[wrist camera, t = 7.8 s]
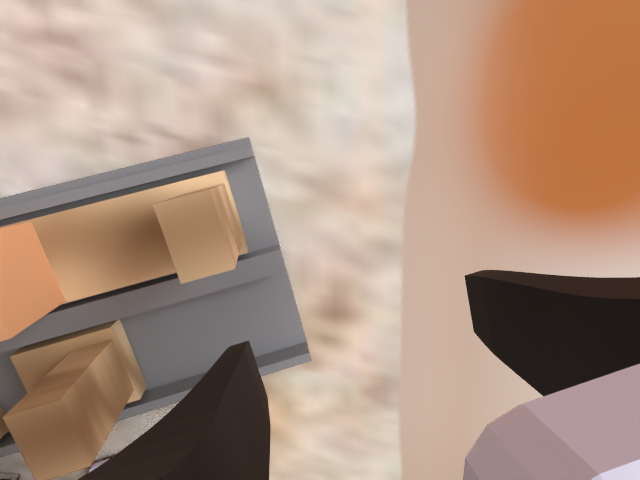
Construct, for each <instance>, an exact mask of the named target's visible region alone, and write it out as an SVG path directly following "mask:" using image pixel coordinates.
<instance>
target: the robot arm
mask: <svg viewBox="0 0 640 480" xmlns="http://www.w3.org/2000/svg"><path fill="white" fill-rule="evenodd" d="M465 280H466V286H467V293H468V299H469V304H470V311H471V316H472V322H473V329H474V332H475V333H476V335H477V336H478V337H479V338H480V339H481V341H482V342H483V343H484V344H485V345H486V346H487V347H488V348H489V349H490V351H491V352H492V353H493V354H494V355H496V356H497V357H498V358H499V359H500V360H501V361H502V362H503V363H505V364H506V365H507V366H508V367H509V368H511V369H512V370H513V371H514V372H515V373H516V374H518V375H519V376H520V377H521V378H522V379H524V380H525V381H526V382H527V383H528V384H530V385H531V386H532V387H533V388H534V389H536V390H537V391H538V392H539V393H540V394H542V395H543V396H544V397H541V398H538V399H535V400H532V401H529V402H527V403H523V404H521V405H518V406H516V407H515V408H513V409H512V410H510V411H508V412H507V413H505V414H503V415H502V416H500V417H498V418H497V419H495V420H494V421H492V422H490V423H489V424H487V426H486V428H485V429H484V430H483V432H482V433H481V435H480V436H479V438H478V439H477V441H476V442H475V444H474V445H473V446H472V448H471V450H470V451H469V453H468V454H467V456H466V458H465V466H464V476H463V480H640V277H637V278H589V277H572V276H557V275H545V274H535V273H525V272H513V271H500V270H483V271H479V272H475V273H472V274H469V275H465ZM269 460H270V417H269V407H268V398H267V394H266V391H265V388H264V385H263V382H262V379H261V376H260V373H259V370H258V366H257V363H256V360H255V357H254V354H253V351H252V348H251V345H250V342H249V341H245V342H242V343H239V344H235V345H232V346H229V347H228V348H227V349H226V350H225V351H224V353H223V354H222V355H221V356H220V357H219V359H218V360H217V361H216V362H215V363H214V365H213V366H212V367H211V368H210V369H209V370H208V372H207V373H206V374H205V375H204V376H203V378H202V379H201V380H200V381H199V382H198V383H197V384H196V385H195V386H194V387H193V388H192V390H191V391H190V392H189V393H188V394H187V395H186V396H185V397H184V398H183V399H182V400H181V401H180V402H179V403H178V404H177V405H176V406H175V407H174V408H173V409H172V410H171V411H170V412H169V413H168V414H167V415H165V416H164V417H163V418H162V419H161V420H160V421H159V422H158V423H156V424H155V425H154V426H153V427H152V428H150V429H149V430H148V431H147V432H145V433H144V434H143V435H141V436H140V437H139V438H138V439H136V440H135V441H134V442H132V443H131V444H130V445H128V446H127V447H126V448H124V449H123V450H122V451H120V452H119V453H118V454H116V455H115V456H113V457H112V458H109V459H106V460H103V461H100V462H97V463H95V464H93V465H92V466H91V468H90V469H89V471H88V474H86V475H84V476H83V477H81V478H80V479H78V480H269Z"/></svg>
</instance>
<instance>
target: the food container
mask: <svg viewBox="0 0 640 480" xmlns="http://www.w3.org/2000/svg"><path fill="white" fill-rule="evenodd" d="M19 477H20V474H16V473H0V480H19Z"/></svg>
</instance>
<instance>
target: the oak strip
mask: <svg viewBox="0 0 640 480" xmlns="http://www.w3.org/2000/svg"><path fill="white" fill-rule="evenodd" d="M27 222H32V225H33V227H34V229H35V231H36V234H37V236H38V238H39V241H40V243H41V245H42V247H43V250H44V252H45V254H46V257H47V259H48V261H49V263H50V266H51V268H52V270H53V273H54V275H55V277H56V280H57V282H58V284H59V286H60V289H61V291H62V293H63V296H64V298H65V300H66V301H65V302H64V303H68V302H72V301H75V300H79V299H82V298H86V297H90V296H93V295H97V294H100V293H104V292H108V291H111V290H115V289H118V288H122V287H126V286H129V285H133V284H137V283H140V282H144V281H147V280H151V279H155V278H158V277H162V276H165V275H169V274H173V273H176V272H177V274H178V277H179V280H180V283H181V284H183V283H186V282H190V281H194V280H197V279H201V278H204V277H208V276H211V275H215V274H219V273H222V272H226V271H229V270H233V269H235V267H236V263H237V259H238V256H239V255H241V254H245V253H248V245H247V241H246V238H245V235H244V231H243V228H242V225H241V221H240V218H239V215H238V212H237V208H236V205H235V202H234V198H233V195H232V192H231V188H230V185H229V182H228V178H227V175H226V172H225V170H223V171H219V172H215V173H211V174H207V175H203V176H199V177H195V178H191V179H187V180H183V181H179V182H175V183H172V184H168V185H164V186H160V187H156V188H152V189H148V190H144V191H140V192H136V193H132V194H128V195H124V196H120V197H116V198H112V199H108V200H104V201H101V202H97V203H93V204H89V205H85V206H81V207H77V208H73V209H69V210H65V211H61V212H57V213H53V214H49V215H45V216H41V217H37V218H33V219H29V220H26V221H22V222H18V223H14V224H10V225H6V226H2V227H0V229H1V228H5V227H10V226H14V225H18V224H22V223H27ZM64 303H62V304H64Z"/></svg>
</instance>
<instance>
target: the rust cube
mask: <svg viewBox="0 0 640 480" xmlns="http://www.w3.org/2000/svg"><path fill="white" fill-rule="evenodd" d="M65 301H66V300H65V298H64V296H63V293H62V291H61V289H60V286H59V284H58V282H57V280H56V277H55V275H54V273H53V270H52V268H51V266H50V263H49V261H48V259H47V257H46V254H45V252H44V250H43V247H42V245H41V243H40V241H39V238H38V236H37V234H36V231H35V229H34V227H33V225H32V222H27V223H22V224H18V225H14V226H10V227H5V228H1V229H0V341H4V340H7V339H11V338H12V337H14V336H15V335H17V334H18V333H20V332H21V331H23V330H24V329H26V328H27V327H28V326H30V325H31V324H33V323H34V322H36V321H37V320H39V319H40V318H42V317H43V316H45V315H46V314H47V313H49V312H50V311H52V310H53V309H55V308H56V307H58V306H59V305H61V304H62V303H64V302H65Z"/></svg>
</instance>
